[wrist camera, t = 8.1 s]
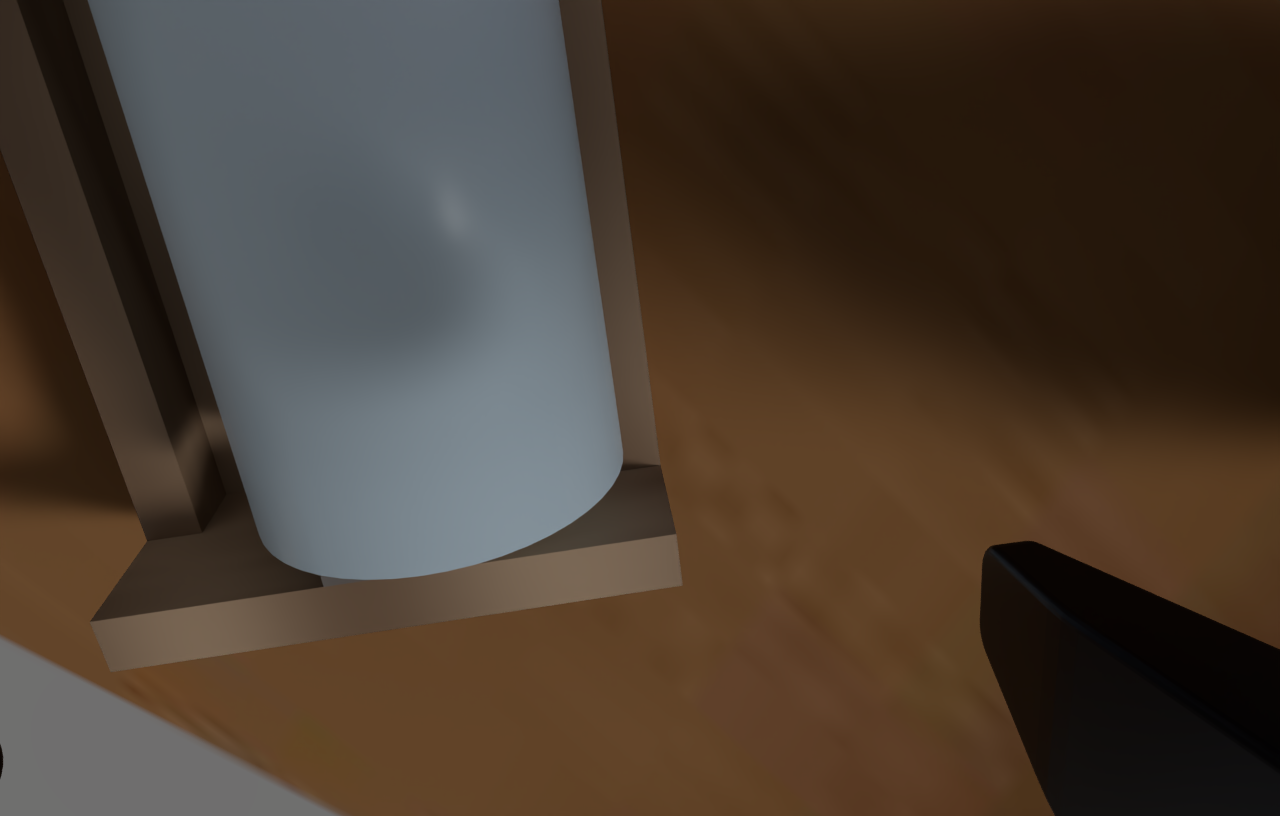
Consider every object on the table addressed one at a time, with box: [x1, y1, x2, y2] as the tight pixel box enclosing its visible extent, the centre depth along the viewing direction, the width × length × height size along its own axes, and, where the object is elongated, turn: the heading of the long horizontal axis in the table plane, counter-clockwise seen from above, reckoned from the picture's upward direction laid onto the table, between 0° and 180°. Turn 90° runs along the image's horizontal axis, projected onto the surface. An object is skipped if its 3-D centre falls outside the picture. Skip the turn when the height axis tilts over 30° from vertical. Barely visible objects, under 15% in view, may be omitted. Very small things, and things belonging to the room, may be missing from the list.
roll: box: [88, 0, 623, 580], centre depth 15 cm, size 10×6×6 cm, turn 7°
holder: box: [0, 0, 682, 672], centre depth 16 cm, size 10×14×5 cm, turn 7°
